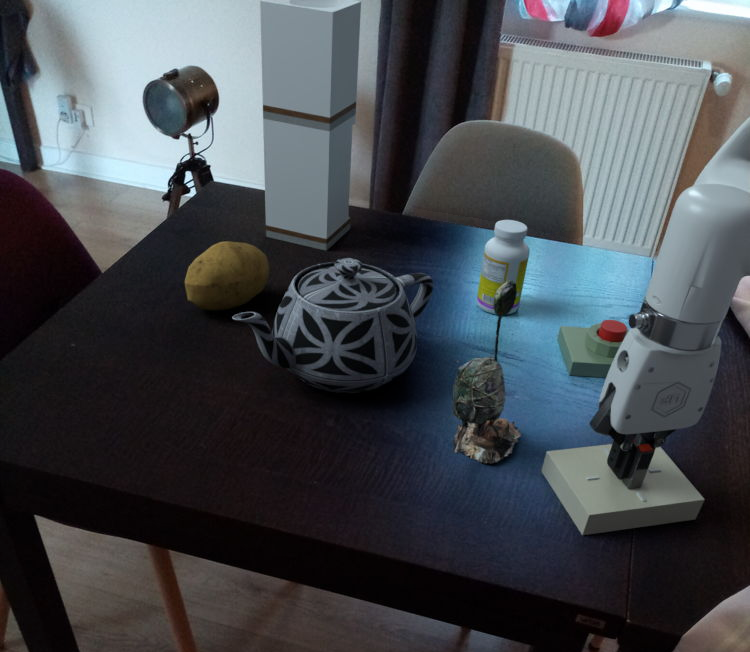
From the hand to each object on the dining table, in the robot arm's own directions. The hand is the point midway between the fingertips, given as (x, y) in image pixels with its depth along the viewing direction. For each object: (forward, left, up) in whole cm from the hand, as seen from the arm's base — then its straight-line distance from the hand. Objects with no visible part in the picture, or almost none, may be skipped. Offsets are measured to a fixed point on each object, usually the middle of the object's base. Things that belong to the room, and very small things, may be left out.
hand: (625, 469), depth 87 cm
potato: (+50, -39, -4) cm, 64 cm away
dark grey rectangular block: (0, 0, -1) cm, 1 cm away
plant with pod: (+15, -8, -4) cm, 17 cm away
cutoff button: (-5, -30, 0) cm, 30 cm away
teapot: (+33, -23, -4) cm, 40 cm away
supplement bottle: (+9, -44, -4) cm, 45 cm away
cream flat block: (0, 0, -4) cm, 4 cm away
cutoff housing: (-5, -30, -4) cm, 31 cm away
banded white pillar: (+40, -67, -4) cm, 78 cm away
